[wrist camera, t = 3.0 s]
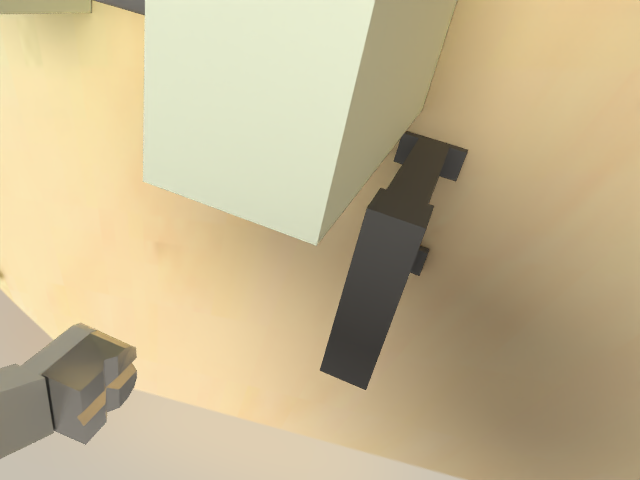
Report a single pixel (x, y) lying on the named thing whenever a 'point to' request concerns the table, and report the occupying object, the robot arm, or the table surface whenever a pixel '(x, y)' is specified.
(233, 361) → the table surface
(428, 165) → the dark grey flanged post
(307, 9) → the lever switch frame
